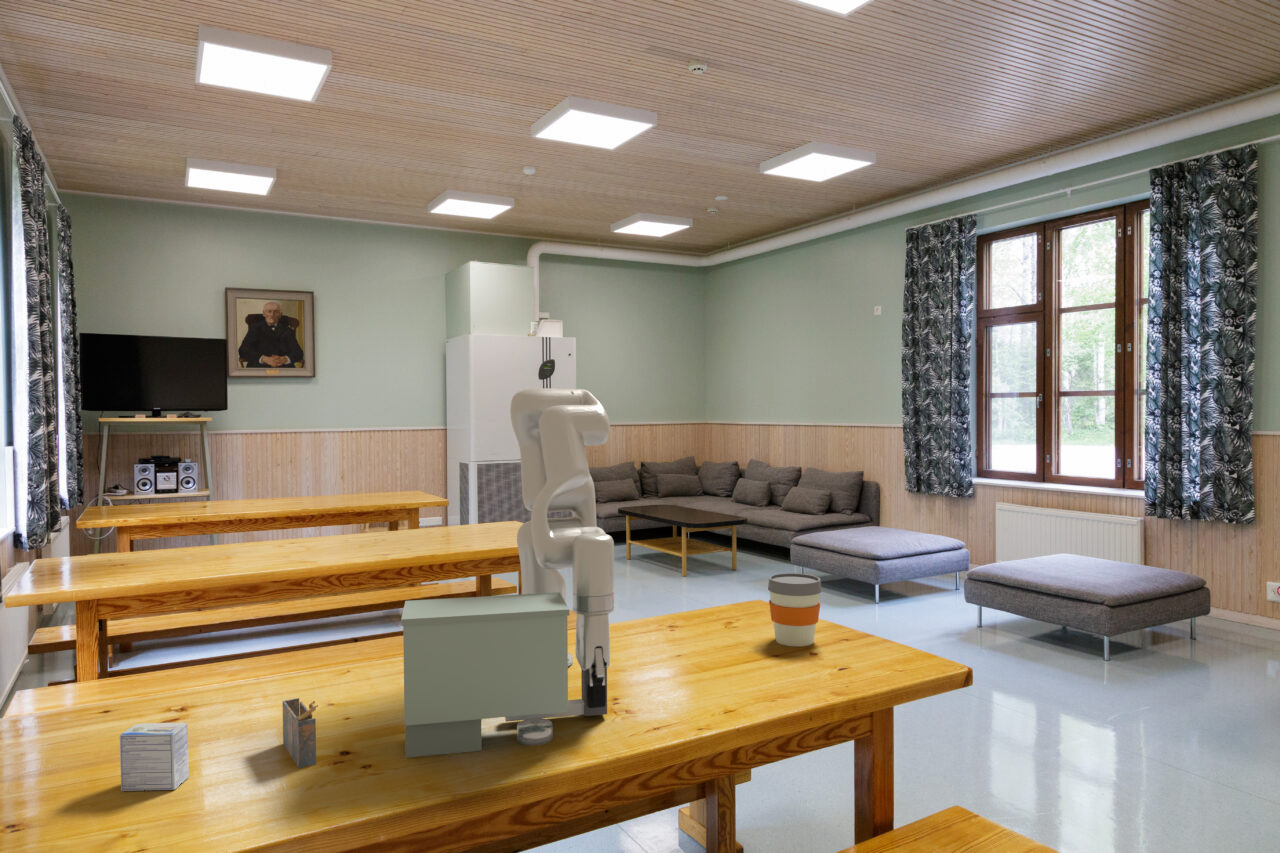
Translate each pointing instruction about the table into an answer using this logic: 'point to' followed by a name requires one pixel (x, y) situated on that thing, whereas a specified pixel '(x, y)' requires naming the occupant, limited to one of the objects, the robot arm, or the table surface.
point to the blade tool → (572, 703)
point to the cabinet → (480, 666)
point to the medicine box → (154, 756)
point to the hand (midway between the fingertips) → (594, 701)
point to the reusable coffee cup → (794, 607)
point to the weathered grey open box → (299, 732)
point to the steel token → (534, 731)
